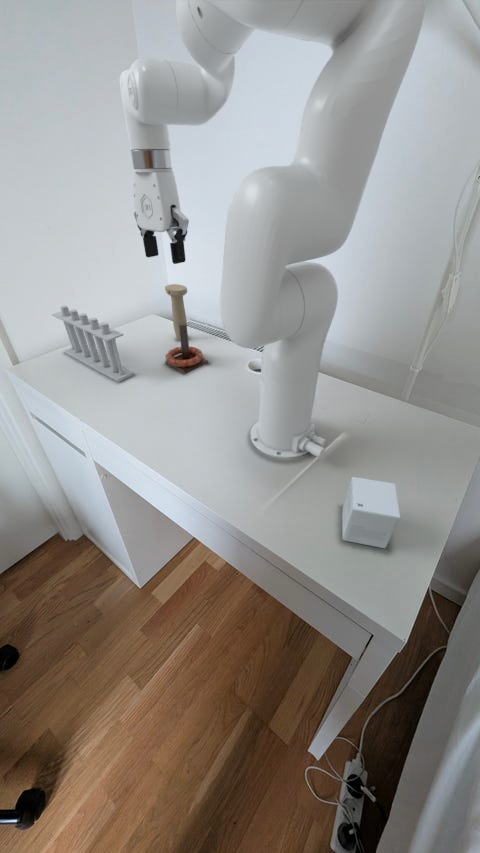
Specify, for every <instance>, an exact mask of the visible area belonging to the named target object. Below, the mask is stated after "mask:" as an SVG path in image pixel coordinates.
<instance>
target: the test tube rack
mask: <svg viewBox="0 0 480 853" xmlns="http://www.w3.org/2000/svg"><path fill="white" fill-rule="evenodd" d="M51 316H52V317H54V318H56V319H59V320H61V321H62V322H63V324H64V328H65V330H66V333H67V336H68V340H69V342H70V345H71V346H70V347H69V348H67V349H64V353H65V354H66V355H68V356H70V357H72V358H73V359H75V360H77V361H79V362H80V363H83V364H84V365H86V366H88V367H90V368H92V369H94V370H95V371H97V372H99V373H100V374H102V375H105V376H106V377H108V378H110V379H111V380H113V381H115V382H116V383H120V382H123V381H124V380H126V379H129V378H131V377H133V376H134V372H133V371H130V370H129V369H127V368H125V367H123V366H122V362H121V357H120V354H119V351H118V346H117V342H116V339H118V338H121V337H123V336H124V333H123V332H121V331H118V330H116V329H113V328H111V327H110V325H109V323H108V321H107V322H106V321H104V322H99V320H98V319H97V318H96V317H91V318H89V316H88V315H87V313H80V314H79V312H78V310H77V309H70V310H69V307H68V305H61V306H60V311H58V312H55V313H52V314H51Z"/></svg>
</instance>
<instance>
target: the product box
mask: <svg viewBox="0 0 480 853" xmlns="http://www.w3.org/2000/svg"><path fill="white" fill-rule="evenodd" d="M341 511H342V512H341V514H342V515H341V524H342V525H341V526H342V527H341V529H342V530H341V533H342V541H345V542H351V543H355V544H360V545H365V546H369V547H370V546H371V547H375V548H381V549H387V546H388V544H389V542H390V540H391V539H392V536H393V533H394V532H395V529H396V528H397V525H398V523H399V521H400V520H401V510H400V503H399V497H398V490H397V485H396V483H393V482H387V481H382V480H375V479H369V478H362V477H356V476H352V477H351V479H350V482H349V486H348V489H347V492H346V495H345V500H344V503H343V505H342V510H341Z"/></svg>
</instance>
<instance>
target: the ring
mask: <svg viewBox="0 0 480 853" xmlns="http://www.w3.org/2000/svg"><path fill="white" fill-rule="evenodd" d="M189 352H190V353H192V354H194V355H196V356H195V357H194V358H192V359H188V360H177V359H174V358H173V357H176V356H178V355H180V354H182V350H181V346H177V347H174V348H172V349H170V350H168V352H167V353H166V354H165V361H166V360H167V362H168V363H169V364H171V365H173V366H175V367H190V366H194V365H196V364H198V363H200V362H201V360H202V358H204V354H203V352H202V350H201V349H199V348H197V347H195V346H190V345H189Z"/></svg>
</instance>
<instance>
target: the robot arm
mask: <svg viewBox="0 0 480 853" xmlns="http://www.w3.org/2000/svg"><path fill="white" fill-rule="evenodd" d="M426 6H427V0H175V19H176V24H177V29H178V33H179V35H180V38H181V40H182V43H183V45H184V46H185V48H186V50H187V52H188V53H189V55H190V56H191V58H192V59H193V60H194V62H196V64H191V63H185V62H180V61H174V60H166V59H164V60H163V59H155V58H154V59H153V58H147V57H142V58H137V59H136V60H134V61H133V62H132V64H131V65H130V67H129V69H126V70H124V71H122V72H121V73H120V76H119V81H118V82H119V90H120V96H121V102H122V109H123V115H124V119H125V126H126V133H127V138H128V145H129V150H130V157H131V163H132V169H133V171H132V190H133V191H132V193H133V200H134V208H135V211H134V213H133V216H134V219H135V221H136V223H137V224H136V225H137V228H138V230H139V231H140V237H141V238H142V242H143V248H144V253H145V257H146V258H153V257H157V256H159V248H158V240H157V236H156V235H155V233H165V232H166V233H167V235H168V237H169V239H170V240H171V242H170V243H169V246H170V255H171V262H172V264H174V265H177V264H182V263H185V262H186V250H185V242H186V237H187V234H188V228H189V224H190V220H189V218H188V217H187V215H185V214H184V213H183V212H182V211H181V204H180V197H179V192H178V186H177V182H176V178H175V174H174V170H173V161H172V151H171V143H170V142H171V141H170V133H169V132H170V131H169V126H173V125H174V126H186V127H187V126H189V127H198V126H199V127H200V126H202V125H205V124H207V123H208V122H209V121H212V119H213V118H214V117H215V116H216V115H217V114H218V113H219V112H220V111H221V109H222V108H223V107H224V106H225V105H226V103H227V102H228V101H229V98H230V95H231V92H232V88H233V83H234V78H235V68H236V65H235V64H236V63H235V62H236V60H235V55H236V54H237V53H238V52H239V50H240V49H241V48H242V46H243V45H244V44H245V43H246V41H247V40H248V38H249V37H250V36H251V35H252V34H253V32H254V31H255V30H256V31H261V32H264V33H268V34H274V35H278V36H283V37H287V38H291V39H296V40H300V41H306V42H313V43H319V44H321V45H324V46H327V47H328V48H330V50H331V51H332V52H331V53H332V55H331V56H330V57H329V59H328V60H327V62H326V63H325V65H324V66H323V68H322V70H321V71H320V73H319V74H318V75H317V76H318V77H317V78H316V80H315V82H314V84H313V86H312V88H311V90H310V92H309V95H308V98H307V99H306V103H305V106H304V109H303V111H302V115H301V121H300V126H299V133H298V137H297V138H298V139H297V143H296V147H295V151H294V154H293V157H292V161H291V162H290V164H289V165H272V166H264V167H261V168H257V169H254V170H253V171H251V172H250V173H248V174H247V175H245V177H244V178H243V179H242V180H241V181H240V182H239V184H238V185H237V187H236V189H235V191H234V193H233V195H232V197H231V200H230V203H229V205H228V211H227V215H226V224H225V234H224V244H223V245H224V246H223V257H222V258H223V259H222V271H221V284H220V297H219V299H220V301H219V302H220V303H219V304H220V305H219V307H220V318H221V323H222V327H223V329H224V332H225V334H226V335H227V337H228V338H229V340H230V341H231V342H232V343H233V344H235V345H236V346H238V347H239V348H243V349H257V348H262V347H263V349H262V352H261V353H262V354H261V363H260V365H261V366H260V383H259V384H260V385H259V405H258V406H259V409H258V410H259V411H258V420H257V421H256V422H255V423H254V424H253V425H252V427H251V429H250V433H249V436H250V441H251V443H252V444H253V445H254V447H255V448H257V450H258V451H260V452H261V453H263V454H265V455H268V456H270V457H274V458H278V459H294V458H299V457H301V456H304V455H306V454H308V453H310V455H312V456H314V457H316V458H318V459H321V458H322V457H323V456H324V454H325V452H326V448H325V447H324V446H325V445H326V442H327V440H326V439H325V438H323V437H321V436H318V435H317V434H316V432H315V429H316V424H315V423H312V422H311V421H312V415H313V408H314V403H315V395H316V392H317V391H316V390H317V385H318V378H319V373H320V367H321V361H322V356H323V352H324V346H325V343H326V340H327V336H328V334H329V331H330V328H331V326H332V323H333V320H334V318H335V317H334V316H335V314H336V311H337V306H338V299H339V298H338V297H339V292H338V291H339V290H338V285H337V282H336V279H335V276H334V275H333V273H332V272H331V270H330V269H328V268H327V266H325V265H324V264H322V263H320V262H319V263H318V262H316V261H312V260H316V259H320V258H323V257H327V256H330V255H332V254H334V253H336V252H337V251H339V250H340V249H341V248H342V247H343V246H344V244H345V243H346V241H347V240H348V238H349V236H350V234H351V232H352V229H353V227H354V223H355V220H356V217H357V214H358V211H359V208H360V206H361V203H362V200H363V197H364V193H365V190H366V187H367V184H368V181H369V179H370V175H371V172H372V169H373V167H374V164H375V161H376V157H377V154H378V151H379V148H380V144H381V141H382V137H383V135H384V131H385V129H386V125H387V122H388V120H389V116H390V114H391V111H392V109H393V106H394V103H395V101H396V98H397V96H398V93H399V91H400V88H401V86H402V84H403V81H404V78H405V76H406V74H407V71H408V69H409V65H410V64H411V60H412V57H413V55H414V52H415V49H416V46H417V43H418V40H419V37H420V34H421V29H422V26H423V22H424V18H425V17H424V16H425V13H426V12H425V11H426Z"/></svg>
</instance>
